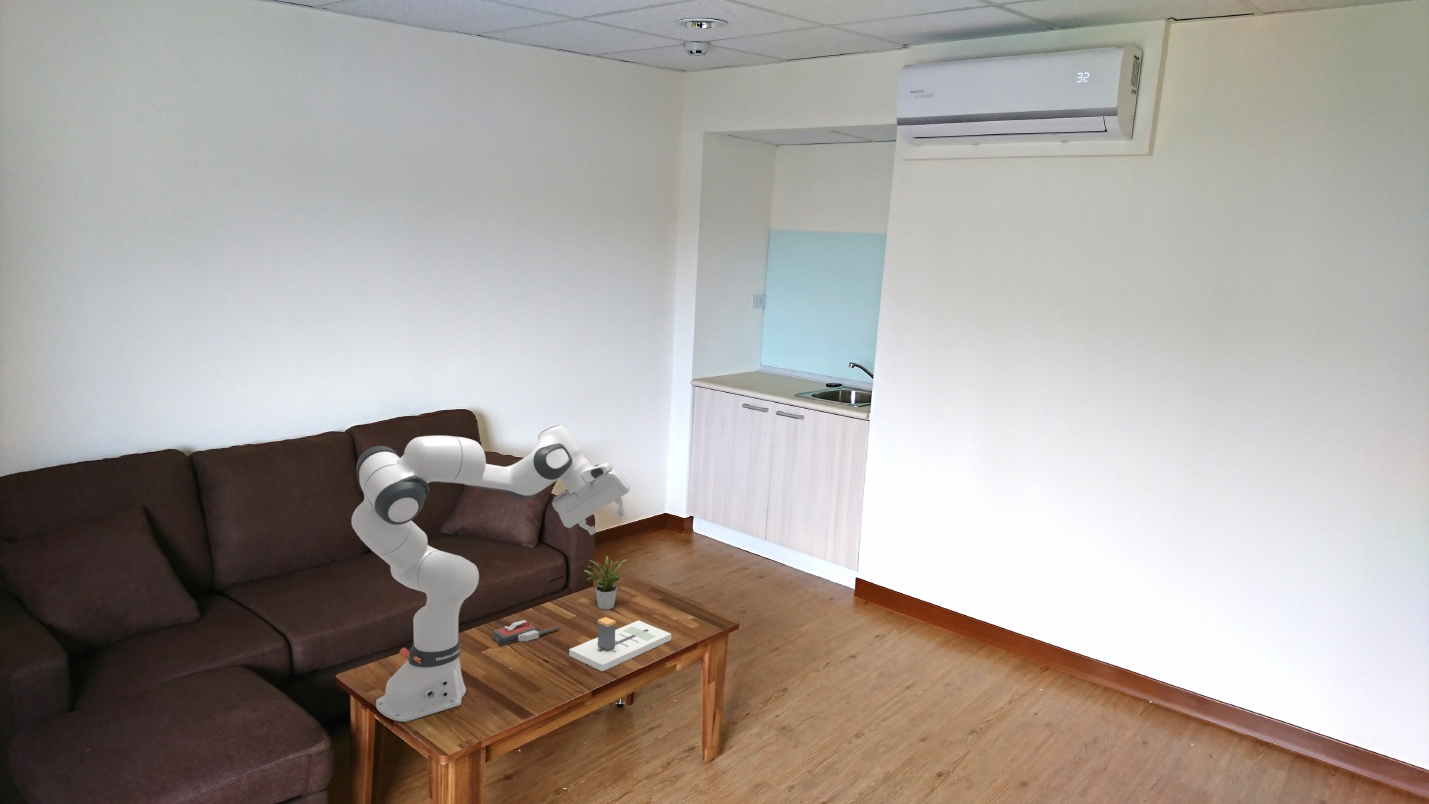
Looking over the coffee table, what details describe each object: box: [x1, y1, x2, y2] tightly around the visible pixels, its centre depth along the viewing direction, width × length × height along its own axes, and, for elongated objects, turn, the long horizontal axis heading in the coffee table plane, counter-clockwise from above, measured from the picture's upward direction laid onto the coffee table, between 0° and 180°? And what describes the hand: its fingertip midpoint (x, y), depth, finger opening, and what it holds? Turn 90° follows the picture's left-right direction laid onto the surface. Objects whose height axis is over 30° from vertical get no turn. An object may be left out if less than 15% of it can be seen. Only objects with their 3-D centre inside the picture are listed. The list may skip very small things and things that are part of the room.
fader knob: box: [597, 616, 617, 651], centre depth 262 cm, size 3×4×8 cm
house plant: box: [583, 555, 629, 610], centre depth 297 cm, size 14×14×16 cm
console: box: [568, 619, 672, 672], centre depth 267 cm, size 28×14×2 cm, turn 140°
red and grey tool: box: [492, 619, 561, 646], centre depth 274 cm, size 9×4×20 cm
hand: (608, 524), depth 242 cm, fingers open, 8 cm apart
